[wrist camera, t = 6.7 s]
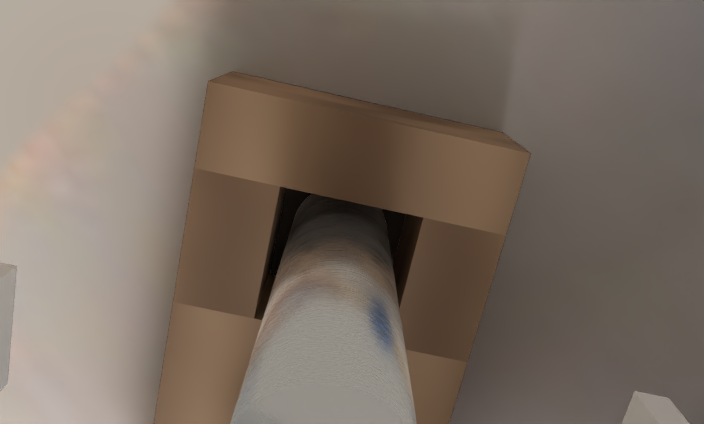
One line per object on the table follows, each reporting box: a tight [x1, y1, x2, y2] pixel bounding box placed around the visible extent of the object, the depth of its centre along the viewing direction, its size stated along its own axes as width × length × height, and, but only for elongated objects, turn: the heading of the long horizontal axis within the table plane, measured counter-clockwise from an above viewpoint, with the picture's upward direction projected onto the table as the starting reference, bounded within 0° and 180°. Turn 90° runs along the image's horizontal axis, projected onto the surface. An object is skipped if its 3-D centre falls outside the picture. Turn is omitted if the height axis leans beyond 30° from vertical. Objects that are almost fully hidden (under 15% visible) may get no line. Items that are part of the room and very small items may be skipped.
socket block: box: [154, 72, 531, 424], centre depth 24 cm, size 10×18×4 cm, turn 167°
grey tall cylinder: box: [230, 194, 417, 424], centre depth 18 cm, size 4×4×14 cm
